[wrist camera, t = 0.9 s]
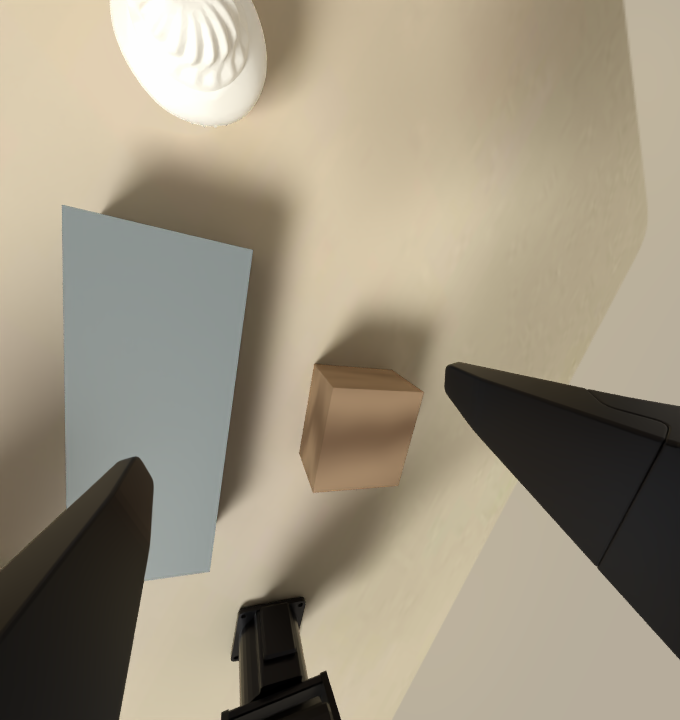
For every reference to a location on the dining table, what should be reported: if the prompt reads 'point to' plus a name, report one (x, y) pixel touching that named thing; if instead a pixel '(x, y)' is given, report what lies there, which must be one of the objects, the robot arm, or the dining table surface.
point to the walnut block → (357, 427)
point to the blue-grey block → (152, 370)
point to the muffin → (194, 55)
